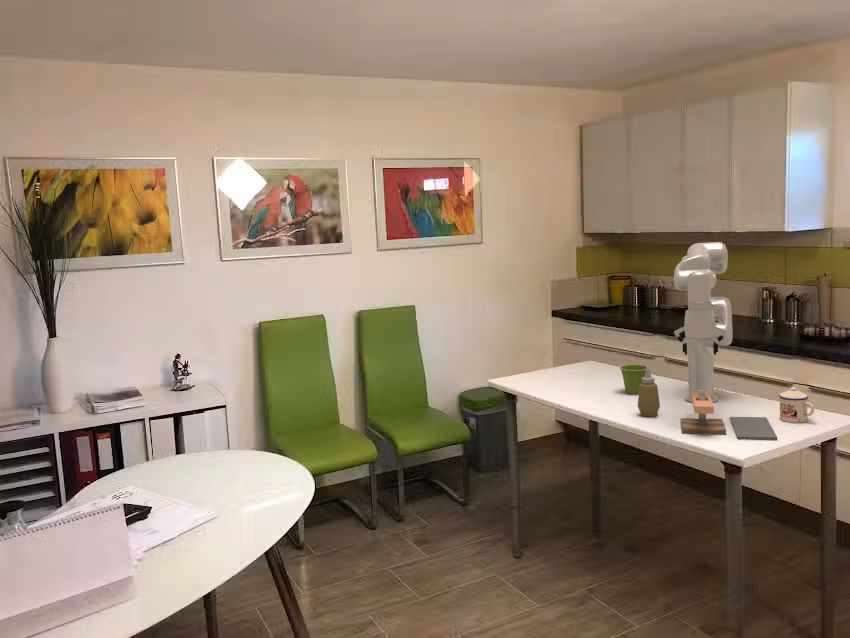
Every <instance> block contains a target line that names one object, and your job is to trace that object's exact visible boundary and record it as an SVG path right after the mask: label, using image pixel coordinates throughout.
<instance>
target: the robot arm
mask: <svg viewBox="0 0 850 638" xmlns="http://www.w3.org/2000/svg"><path fill="white" fill-rule="evenodd" d="M728 253H729V252H728V249H727V245H726V244H725V243H724V242H722V241H714V242H697V243H694V244H692V245H690V246H689V248H688V249H687V254H686V255H685V256H682V258H681V261H680V262H679V263H678V264H677V265H676V266H675V269H674V274H673V285H674V287H675V289H676V290H677V291H679V292H680V291H681V292H687V304H688V305H687V308H688V309H686V310H685V314H684V326H682V327H679V328H678V329H676V330H674V331H673V334H674V336H675V337H676V339H677V340H678V341H679V342H680V343H681V344H682V353H684V355H685V356H687V375H688V376H687V378H688V379H687V380H688V381H687V382H688V394H686V395H685V396H684V400H685V401H686V402H689V403H692V396H691V392H698V390H705V391H706V392H709V393H710V397H711V400H712V403H715V402H717V401H719V396H718V395H715V389H714V388H715V387H714V385H715V381H714V375H715V374H714V357H713V356H716V355H717V353H719V347H720V346H721V347H726V346H729V345H731V344H732V342H733V316H732V315H733V314H732V313H733V312H732V305H731V301H730V299H729V298H727V297H726V296H712V294H711V293H712V291H711V290H713V288H714V287H715V286H716V284H717V275H718V274H719V275H720V274H724V273H725V272H726V271H727V269H728V259H729V258H728V257H729V255H728ZM681 333H684V337H682V336H681V335H680V334H681ZM707 347H713V348H712V349H713V354H712V353H711V351H710V350H709V349H708V348H707Z"/></svg>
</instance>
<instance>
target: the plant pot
mask: <svg viewBox="0 0 850 638" xmlns="http://www.w3.org/2000/svg"><path fill="white" fill-rule="evenodd" d="M647 368H649V366H647V365H644V364H634V363H633V364H631V363H630V364H623V365H620V366H619V370H621V375H622V378H623V384H624V385H623V386H624V389H625V393H626V392H627V393H626V394H628V393H630V394H629V395H633V394H635V395H639V385H640V384H641V383H642V378H643V377H645V372H646V369H647Z"/></svg>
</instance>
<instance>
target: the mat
mask: <svg viewBox="0 0 850 638" xmlns="http://www.w3.org/2000/svg"><path fill="white" fill-rule="evenodd" d="M729 421H730V423H731V426H732V429H733V432H734V434H735V436H736V439H737V440H742V439H743V440H744V439H745V441H746V440H747V441H748V440H749V441H751V440H752V441H778V436H777V434H776V432H775V430H774V429H773V427H772V425H771V423H770V422H769V420H768V417H765V416H729Z"/></svg>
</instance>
